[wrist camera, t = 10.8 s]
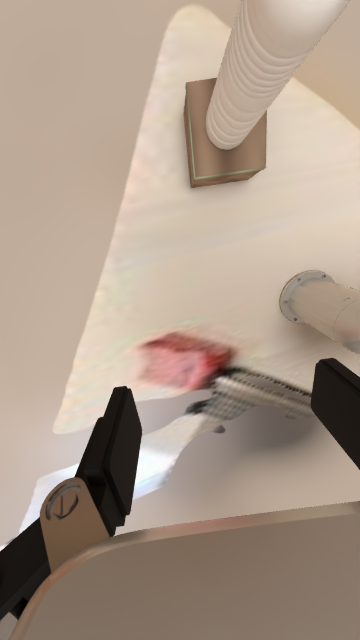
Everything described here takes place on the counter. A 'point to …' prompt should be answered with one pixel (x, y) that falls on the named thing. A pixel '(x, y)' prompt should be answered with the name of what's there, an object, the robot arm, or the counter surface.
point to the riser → (210, 160)
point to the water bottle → (263, 61)
